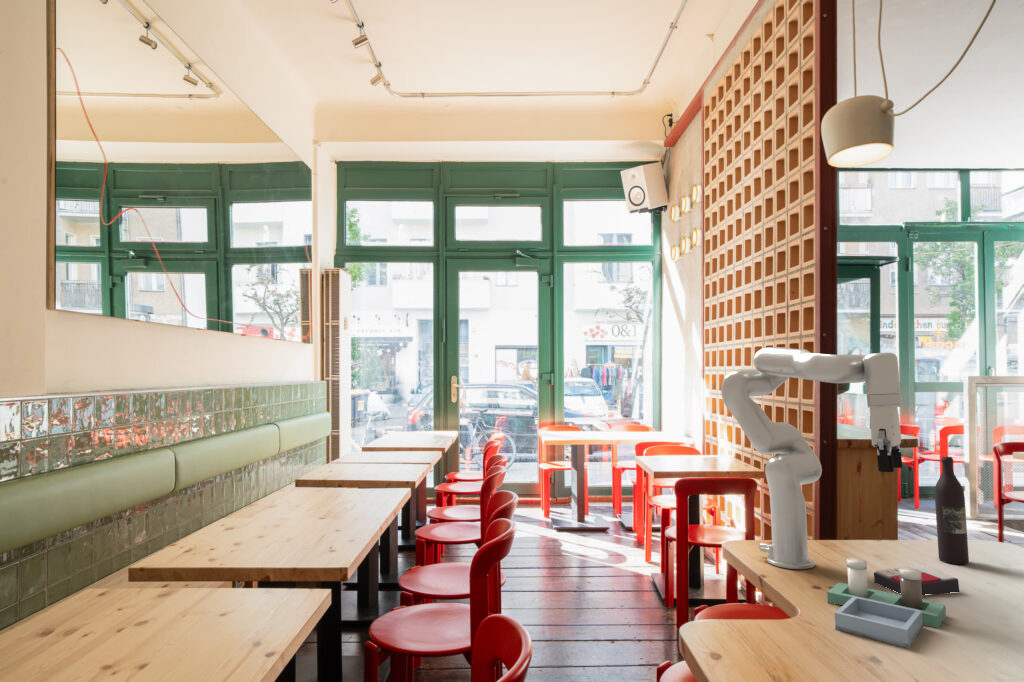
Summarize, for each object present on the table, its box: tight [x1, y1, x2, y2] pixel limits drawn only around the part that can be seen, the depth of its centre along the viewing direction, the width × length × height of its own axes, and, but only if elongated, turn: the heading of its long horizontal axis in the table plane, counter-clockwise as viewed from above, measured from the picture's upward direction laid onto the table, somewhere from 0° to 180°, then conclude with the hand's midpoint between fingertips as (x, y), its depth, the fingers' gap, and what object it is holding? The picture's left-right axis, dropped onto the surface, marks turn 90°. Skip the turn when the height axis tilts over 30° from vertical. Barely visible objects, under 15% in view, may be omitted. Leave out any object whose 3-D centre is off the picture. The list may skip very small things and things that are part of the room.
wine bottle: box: [934, 456, 970, 566], centre depth 175 cm, size 7×7×30 cm
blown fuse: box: [898, 566, 923, 610], centre depth 137 cm, size 4×4×10 cm
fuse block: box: [826, 582, 947, 629], centre depth 140 cm, size 22×9×2 cm, turn 45°
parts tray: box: [834, 596, 924, 649], centre depth 130 cm, size 13×13×4 cm
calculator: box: [873, 564, 960, 595], centre depth 154 cm, size 11×4×15 cm
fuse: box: [846, 557, 869, 598], centre depth 144 cm, size 4×4×10 cm
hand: (890, 469), depth 151 cm, fingers open, 9 cm apart
